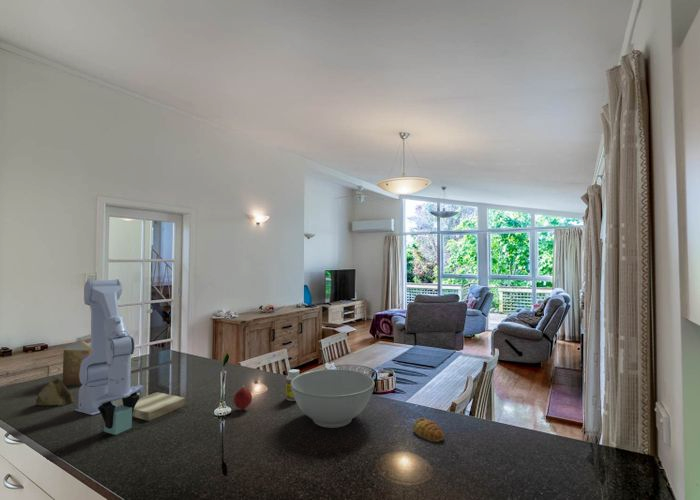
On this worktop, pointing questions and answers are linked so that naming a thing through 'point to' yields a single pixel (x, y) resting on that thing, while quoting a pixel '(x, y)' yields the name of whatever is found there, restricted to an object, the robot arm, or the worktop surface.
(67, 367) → the tan tall block
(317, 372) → the decorative bowl
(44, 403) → the rock
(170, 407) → the birch base board
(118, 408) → the teal block
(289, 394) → the supplement bottle
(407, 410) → the worktop surface
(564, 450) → the worktop surface
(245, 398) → the onion
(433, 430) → the pastry
